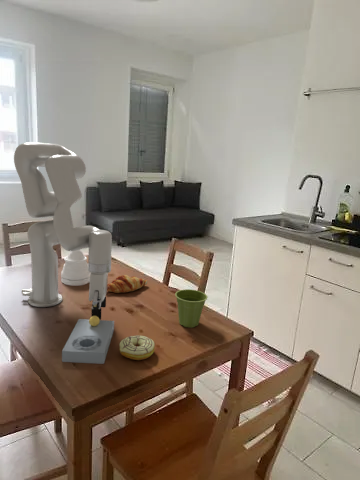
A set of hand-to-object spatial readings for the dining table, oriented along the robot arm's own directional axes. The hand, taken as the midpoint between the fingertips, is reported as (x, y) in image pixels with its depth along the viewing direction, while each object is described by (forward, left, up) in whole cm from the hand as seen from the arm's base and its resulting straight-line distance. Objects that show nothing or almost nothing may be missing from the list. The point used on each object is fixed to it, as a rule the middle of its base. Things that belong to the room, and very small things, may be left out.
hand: (98, 312), depth 124 cm
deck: (0, -13, -5) cm, 14 cm away
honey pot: (-18, +39, -5) cm, 43 cm away
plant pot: (+32, +5, -5) cm, 33 cm away
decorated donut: (+11, -15, -5) cm, 20 cm away
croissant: (+7, +31, -5) cm, 32 cm away
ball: (0, -7, -1) cm, 7 cm away
